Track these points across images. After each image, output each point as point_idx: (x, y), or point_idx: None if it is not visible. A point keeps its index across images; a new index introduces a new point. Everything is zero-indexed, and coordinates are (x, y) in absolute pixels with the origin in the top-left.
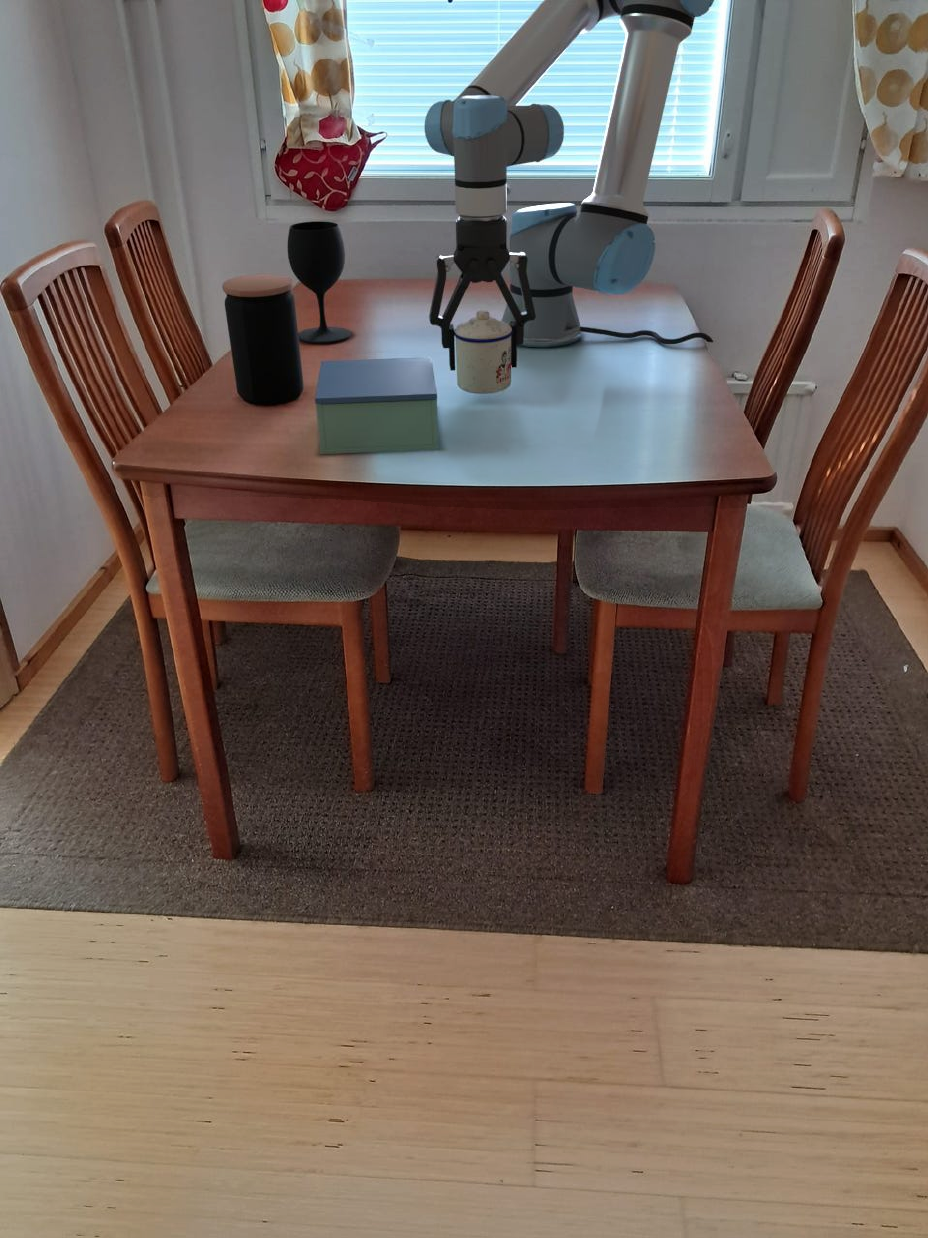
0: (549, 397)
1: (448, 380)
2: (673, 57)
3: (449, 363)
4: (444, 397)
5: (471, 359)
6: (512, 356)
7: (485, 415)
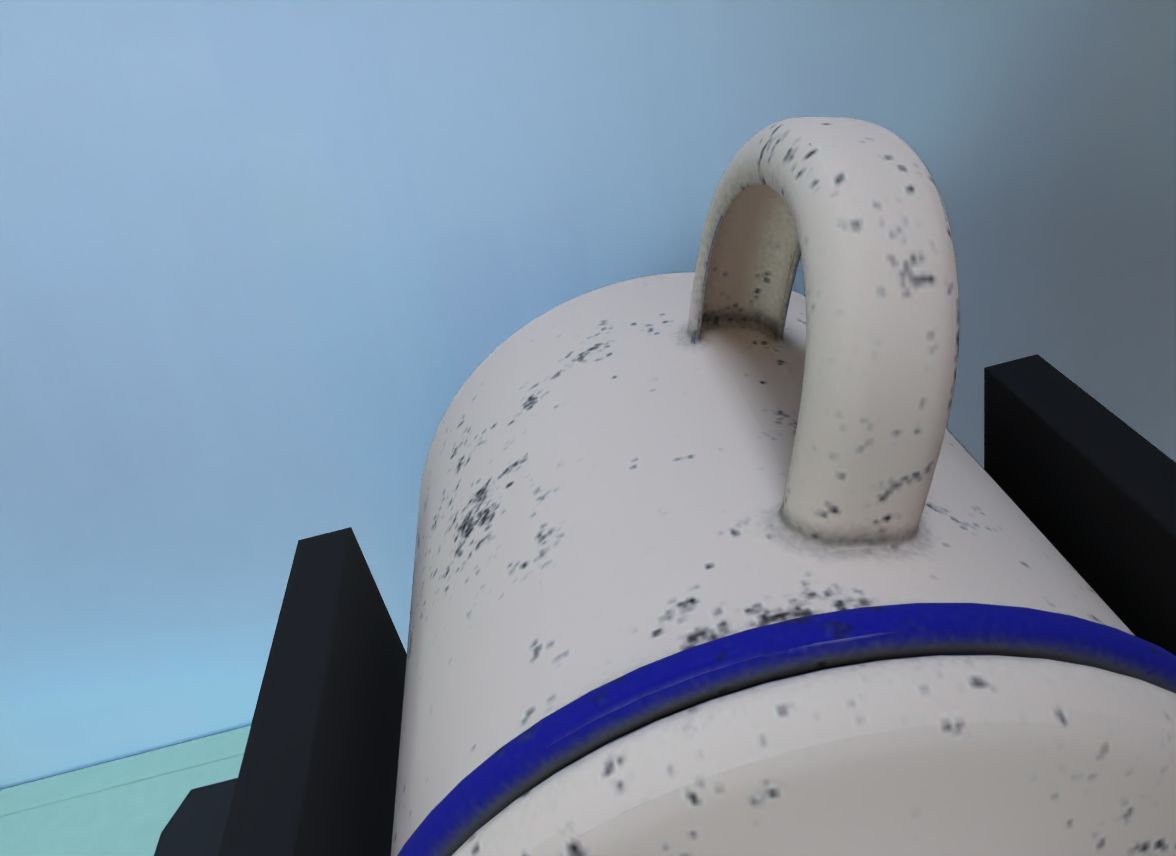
0: (1153, 374)
1: (201, 42)
2: None
3: (298, 558)
4: (322, 504)
5: None
6: None
7: None
